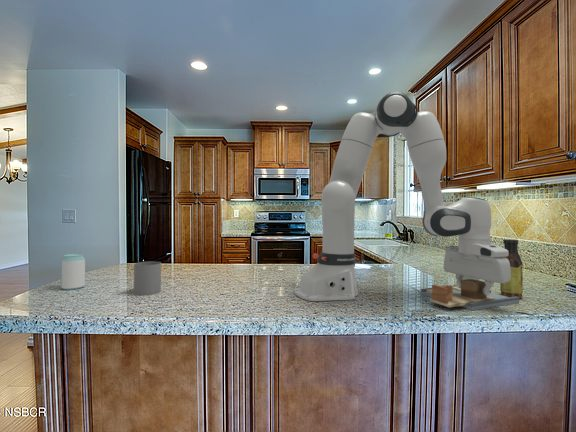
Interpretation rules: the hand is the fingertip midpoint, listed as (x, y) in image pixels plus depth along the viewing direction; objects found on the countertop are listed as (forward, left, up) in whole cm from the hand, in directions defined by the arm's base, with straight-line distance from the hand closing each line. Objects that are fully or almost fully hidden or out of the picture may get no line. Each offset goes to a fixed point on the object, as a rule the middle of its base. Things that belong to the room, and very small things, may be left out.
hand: (473, 291), depth 96 cm
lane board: (+3, +5, -4) cm, 7 cm away
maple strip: (-5, 0, -3) cm, 6 cm away
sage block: (+9, +9, -2) cm, 13 cm away
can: (-122, +64, -4) cm, 137 cm away
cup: (-97, +49, -4) cm, 108 cm away
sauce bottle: (+19, +1, -4) cm, 20 cm away
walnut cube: (0, 0, -2) cm, 2 cm away
